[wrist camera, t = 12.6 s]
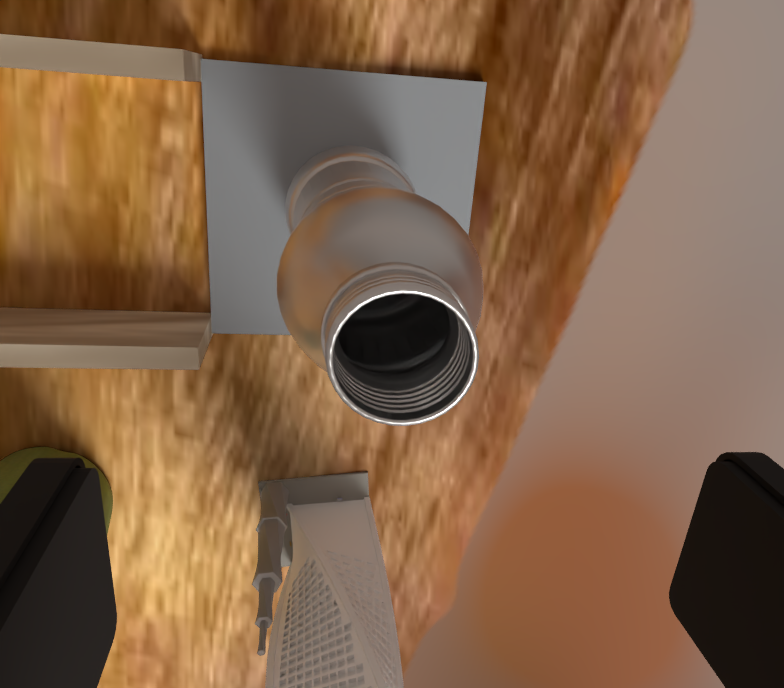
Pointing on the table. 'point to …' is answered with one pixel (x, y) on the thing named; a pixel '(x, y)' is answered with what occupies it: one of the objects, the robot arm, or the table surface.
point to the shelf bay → (101, 327)
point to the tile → (302, 142)
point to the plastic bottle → (379, 287)
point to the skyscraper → (324, 586)
